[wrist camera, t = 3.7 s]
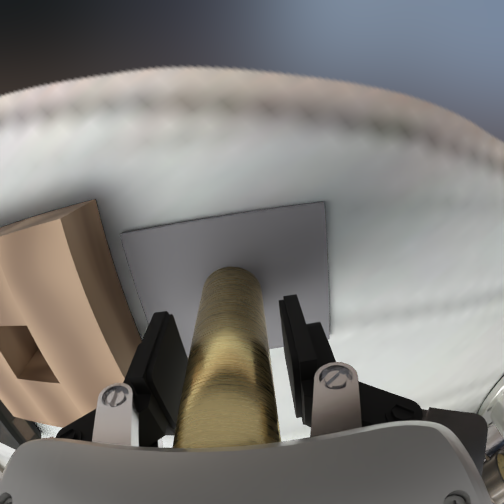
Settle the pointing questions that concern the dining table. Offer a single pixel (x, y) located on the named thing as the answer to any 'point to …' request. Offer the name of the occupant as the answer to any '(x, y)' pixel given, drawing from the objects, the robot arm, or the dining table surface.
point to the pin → (228, 368)
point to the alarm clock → (494, 476)
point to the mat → (234, 263)
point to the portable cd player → (16, 429)
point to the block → (60, 316)
